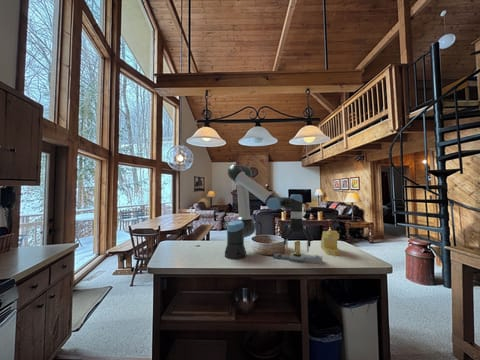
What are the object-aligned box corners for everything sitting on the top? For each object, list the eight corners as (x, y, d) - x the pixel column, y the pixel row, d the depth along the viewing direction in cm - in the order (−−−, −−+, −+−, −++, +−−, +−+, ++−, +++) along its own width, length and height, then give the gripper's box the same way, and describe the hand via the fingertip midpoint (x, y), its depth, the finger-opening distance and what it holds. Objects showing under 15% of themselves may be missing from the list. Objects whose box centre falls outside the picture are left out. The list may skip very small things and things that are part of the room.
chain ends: (272, 258, 144) (272, 253, 144) (275, 255, 152) (275, 249, 152) (322, 264, 132) (322, 258, 132) (322, 260, 140) (322, 254, 140)
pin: (294, 260, 141) (294, 241, 141) (295, 258, 144) (294, 240, 145) (300, 260, 139) (299, 242, 140) (300, 259, 143) (300, 240, 143)
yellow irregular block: (341, 255, 150) (340, 232, 151) (327, 255, 152) (326, 232, 152) (333, 248, 170) (332, 227, 171) (321, 247, 171) (320, 227, 172)
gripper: (276, 217, 144) (277, 249, 143) (316, 219, 135) (317, 254, 134) (279, 216, 151) (279, 247, 150) (316, 218, 142) (317, 250, 141)
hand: (297, 250), depth 142 cm, fingers open, 13 cm apart
